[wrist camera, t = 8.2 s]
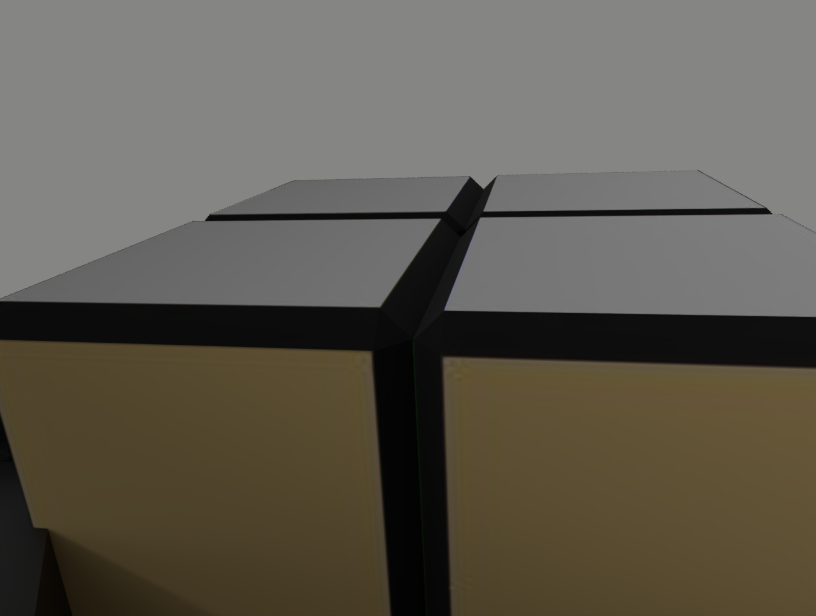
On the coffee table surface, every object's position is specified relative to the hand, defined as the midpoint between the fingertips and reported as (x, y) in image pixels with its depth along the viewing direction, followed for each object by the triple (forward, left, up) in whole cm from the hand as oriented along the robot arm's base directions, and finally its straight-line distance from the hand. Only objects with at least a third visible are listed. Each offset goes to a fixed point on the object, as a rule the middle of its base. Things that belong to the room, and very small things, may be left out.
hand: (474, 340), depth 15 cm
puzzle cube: (+1, -4, -6) cm, 8 cm away
